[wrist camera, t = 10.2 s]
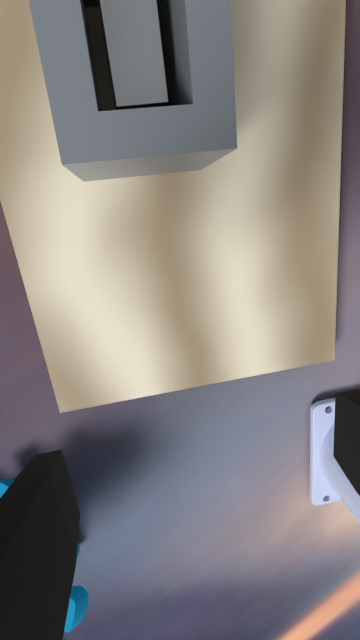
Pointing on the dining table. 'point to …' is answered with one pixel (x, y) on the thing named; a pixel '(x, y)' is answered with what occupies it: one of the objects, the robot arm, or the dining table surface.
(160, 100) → the key shaft
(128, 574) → the dining table surface
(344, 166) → the dining table surface
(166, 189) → the shaft board
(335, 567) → the dining table surface
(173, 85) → the grey hollow rectangular block
